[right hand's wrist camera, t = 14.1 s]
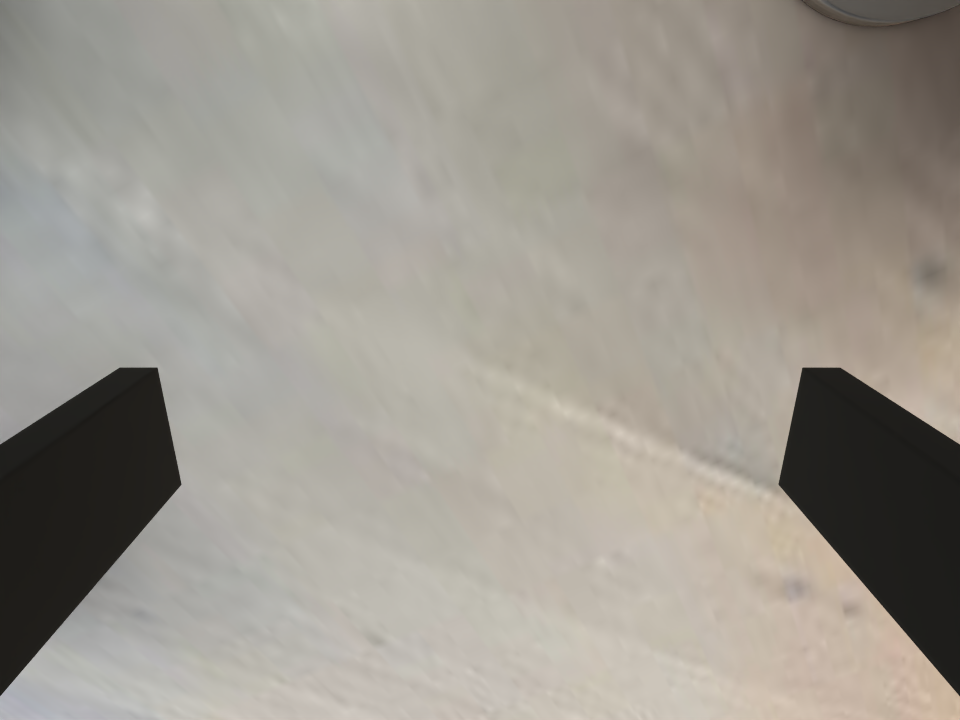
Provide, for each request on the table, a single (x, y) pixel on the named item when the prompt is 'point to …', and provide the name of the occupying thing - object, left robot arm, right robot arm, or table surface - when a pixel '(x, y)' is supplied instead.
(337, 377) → the table surface
